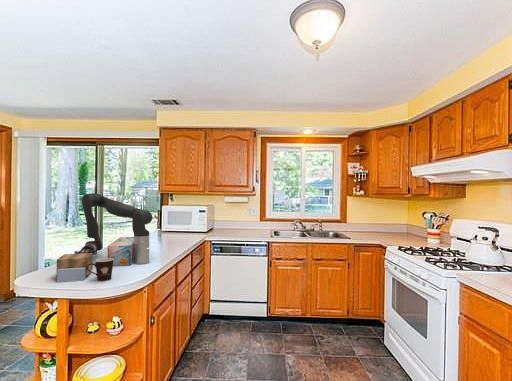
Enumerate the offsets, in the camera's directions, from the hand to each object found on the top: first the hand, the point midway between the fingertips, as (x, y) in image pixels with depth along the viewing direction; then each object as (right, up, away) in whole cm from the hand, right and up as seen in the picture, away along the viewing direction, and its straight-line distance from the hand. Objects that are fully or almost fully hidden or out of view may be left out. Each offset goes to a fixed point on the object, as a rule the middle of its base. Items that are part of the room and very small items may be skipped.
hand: (82, 255), depth 183 cm
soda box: (+13, -9, +27) cm, 32 cm away
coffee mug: (+21, -8, -21) cm, 30 cm away
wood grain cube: (+4, -6, -15) cm, 16 cm away
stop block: (+7, -8, -23) cm, 25 cm away
